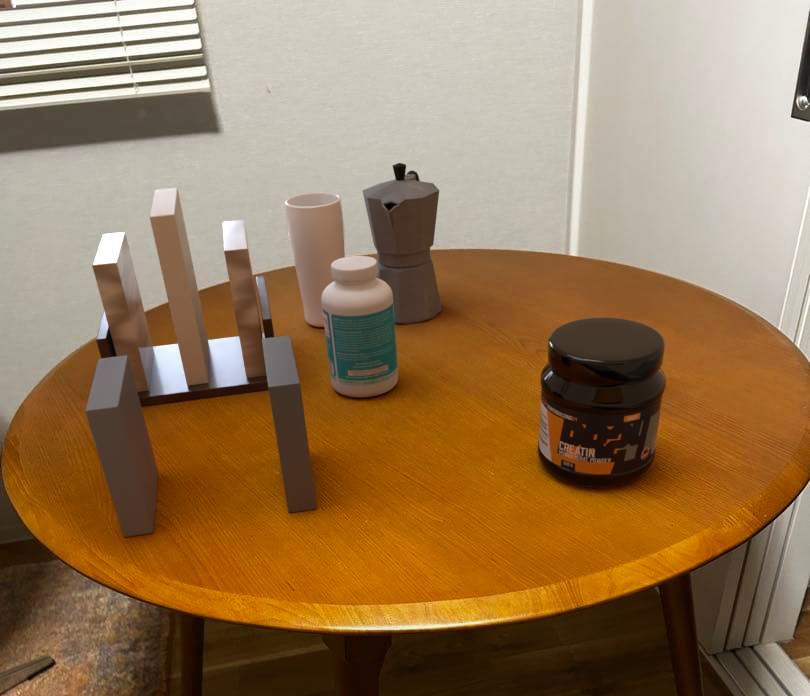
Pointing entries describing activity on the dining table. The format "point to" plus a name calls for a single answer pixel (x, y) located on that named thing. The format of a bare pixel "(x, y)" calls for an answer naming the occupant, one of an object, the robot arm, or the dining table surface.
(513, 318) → the dining table surface
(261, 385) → the book rack
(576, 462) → the supplement container
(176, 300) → the white book
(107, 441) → the grey books
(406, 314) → the coffeepot
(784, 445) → the dining table surface
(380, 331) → the pill bottle
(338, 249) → the drinking glass
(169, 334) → the dining table surface
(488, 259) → the dining table surface
